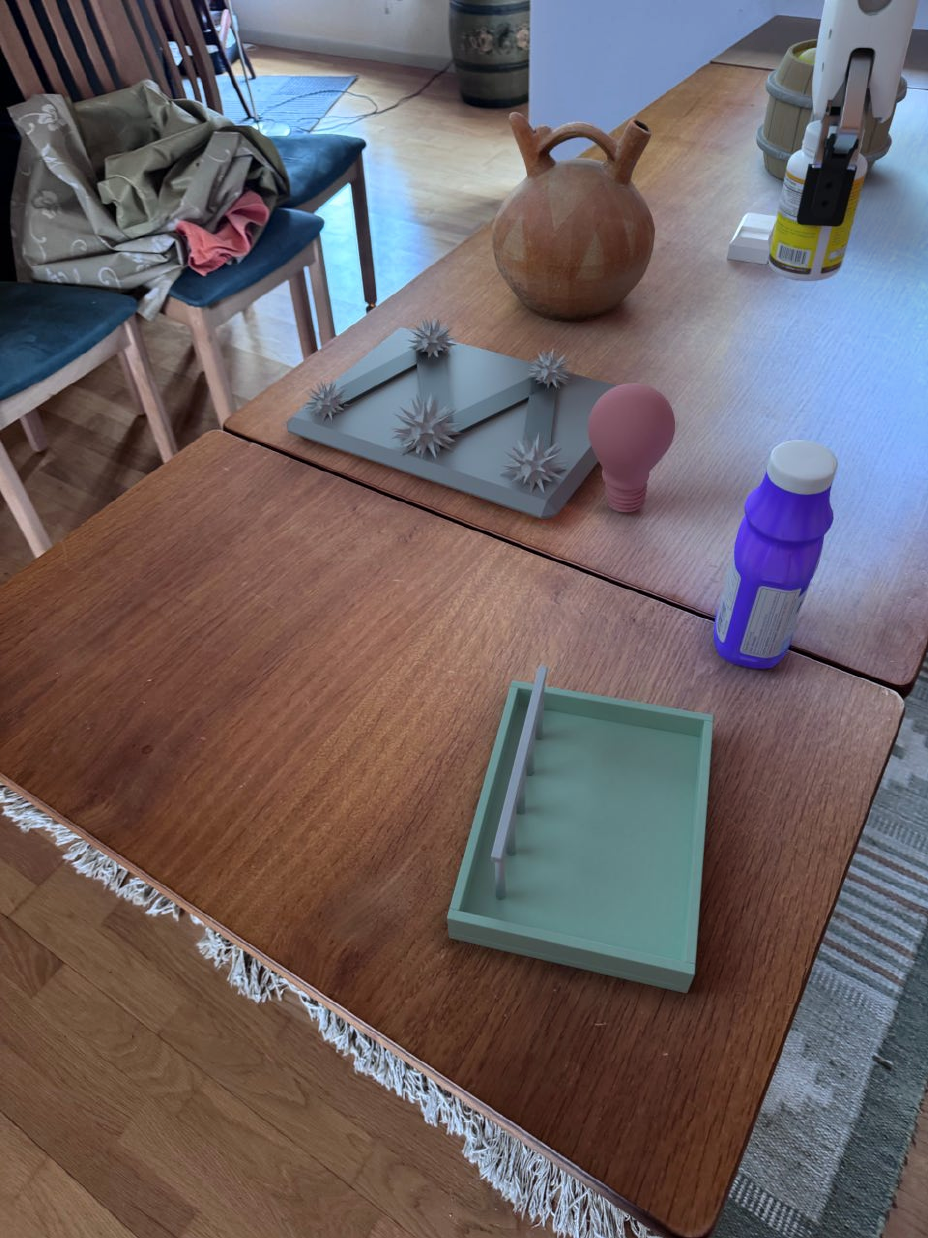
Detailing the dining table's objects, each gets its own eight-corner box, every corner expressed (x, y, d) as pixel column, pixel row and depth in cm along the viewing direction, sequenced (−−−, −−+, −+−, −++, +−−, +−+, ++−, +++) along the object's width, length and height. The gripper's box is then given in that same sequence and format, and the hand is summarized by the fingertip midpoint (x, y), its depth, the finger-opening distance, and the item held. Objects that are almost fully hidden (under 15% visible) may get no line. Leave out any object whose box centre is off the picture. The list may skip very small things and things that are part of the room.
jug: (473, 327, 101) (468, 141, 87) (514, 258, 113) (515, 83, 98) (632, 346, 97) (654, 154, 83) (657, 273, 109) (680, 93, 94)
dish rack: (707, 738, 61) (726, 671, 56) (687, 994, 50) (709, 940, 44) (511, 704, 64) (512, 636, 59) (448, 938, 52) (442, 881, 47)
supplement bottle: (832, 253, 71) (868, 113, 64) (846, 284, 67) (886, 139, 60) (761, 253, 72) (789, 115, 64) (771, 284, 68) (802, 141, 60)
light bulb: (573, 523, 77) (581, 407, 69) (592, 475, 82) (601, 360, 73) (653, 538, 76) (672, 421, 67) (668, 488, 80) (687, 372, 71)
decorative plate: (645, 409, 89) (654, 345, 84) (550, 533, 77) (553, 468, 72) (400, 340, 100) (394, 280, 95) (282, 439, 88) (267, 376, 83)
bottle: (782, 684, 64) (850, 500, 52) (704, 667, 66) (752, 483, 53) (791, 615, 69) (855, 430, 56) (717, 600, 70) (764, 417, 58)
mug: (726, 197, 124) (747, 76, 113) (765, 138, 138) (788, 26, 127) (865, 217, 118) (902, 92, 107) (891, 153, 132) (925, 37, 121)
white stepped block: (779, 234, 115) (783, 214, 113) (766, 264, 109) (771, 243, 107) (741, 229, 116) (745, 209, 114) (726, 258, 111) (730, 237, 109)
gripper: (978, -78, 47) (878, 259, 60) (940, -124, 58) (863, 167, 71) (829, -76, 48) (763, 252, 61) (821, -121, 59) (767, 163, 73)
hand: (818, 204), depth 66 cm, fingers closed on supplement bottle, 5 cm apart
